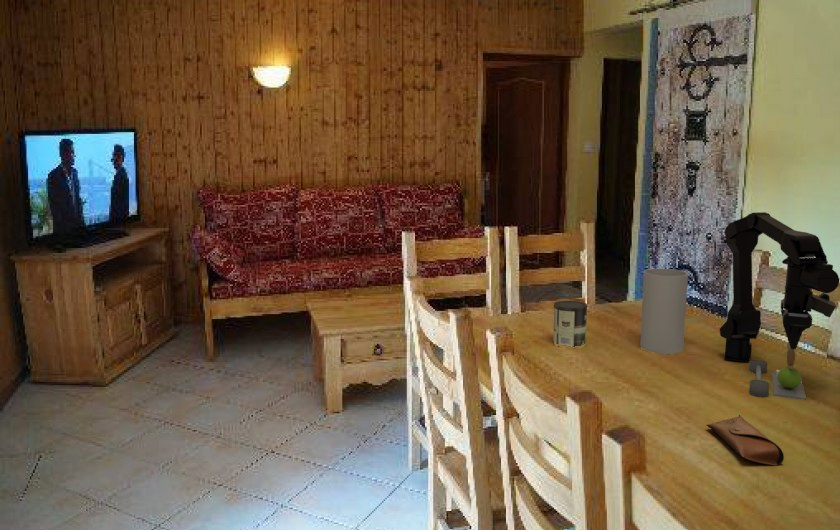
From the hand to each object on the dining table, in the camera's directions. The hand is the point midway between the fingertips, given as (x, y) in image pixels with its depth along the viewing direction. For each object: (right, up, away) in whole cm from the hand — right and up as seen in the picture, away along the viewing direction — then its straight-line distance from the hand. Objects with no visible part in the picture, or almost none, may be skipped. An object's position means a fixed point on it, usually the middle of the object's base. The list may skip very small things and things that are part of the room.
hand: (792, 344), depth 178 cm
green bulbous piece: (-1, -11, +1) cm, 11 cm away
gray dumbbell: (-6, -12, +6) cm, 15 cm away
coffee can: (-48, -6, +42) cm, 64 cm away
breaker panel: (+1, -12, +3) cm, 13 cm away
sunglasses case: (-29, -19, -30) cm, 46 cm away
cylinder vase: (-21, -7, +36) cm, 42 cm away
